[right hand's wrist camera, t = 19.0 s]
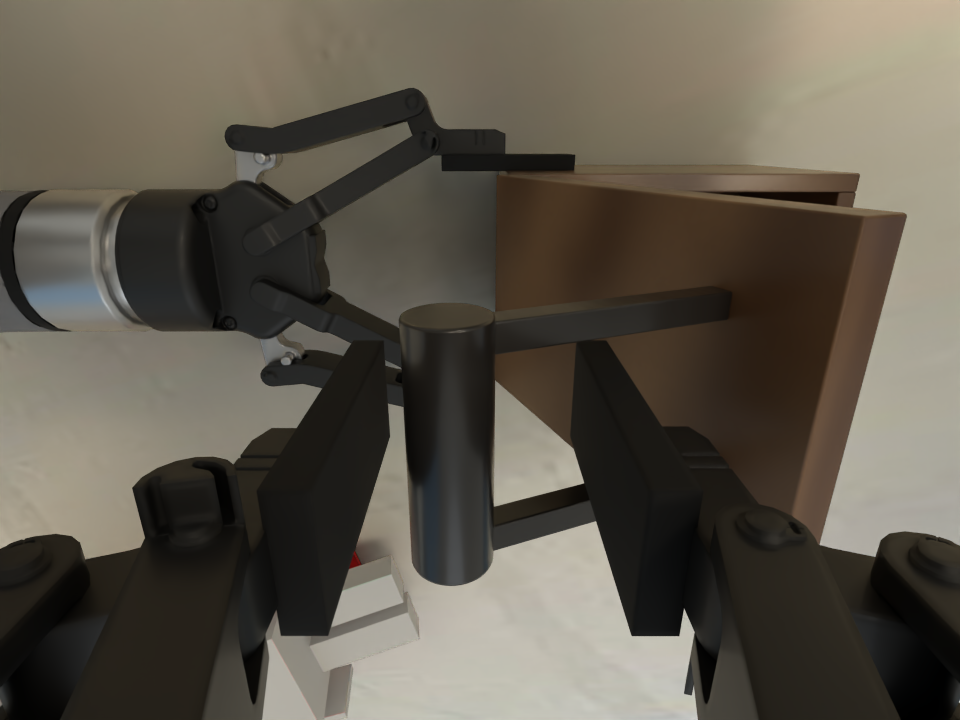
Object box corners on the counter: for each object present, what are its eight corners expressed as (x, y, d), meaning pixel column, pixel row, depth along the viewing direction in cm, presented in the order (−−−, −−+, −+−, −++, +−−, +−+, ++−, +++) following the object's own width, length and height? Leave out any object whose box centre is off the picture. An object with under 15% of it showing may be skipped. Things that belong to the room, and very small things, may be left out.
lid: (909, 212, 11) (455, 245, 7) (804, 604, 14) (463, 748, 11) (522, 173, 24) (304, 179, 21) (517, 376, 28) (329, 408, 24)
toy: (434, 719, 39) (6, 870, 37) (425, 585, 51) (104, 695, 50) (373, 585, 34) (-110, 750, 33) (379, 475, 47) (29, 592, 46)
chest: (750, 164, 35) (861, 173, 25) (726, 312, 38) (814, 372, 28) (499, 165, 35) (508, 173, 25) (497, 312, 38) (505, 372, 28)
